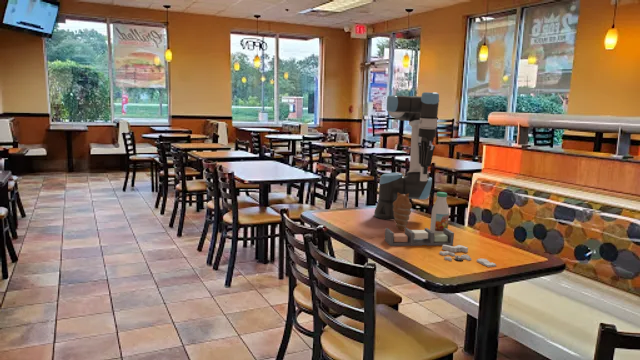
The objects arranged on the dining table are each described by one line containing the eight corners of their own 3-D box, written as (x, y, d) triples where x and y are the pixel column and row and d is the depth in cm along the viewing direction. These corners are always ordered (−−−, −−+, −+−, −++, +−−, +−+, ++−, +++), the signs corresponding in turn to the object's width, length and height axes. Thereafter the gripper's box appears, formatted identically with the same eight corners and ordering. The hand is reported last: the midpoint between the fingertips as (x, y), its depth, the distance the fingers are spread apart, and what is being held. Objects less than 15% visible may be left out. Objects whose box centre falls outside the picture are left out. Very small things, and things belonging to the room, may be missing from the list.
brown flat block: (390, 238, 202) (390, 233, 202) (403, 238, 203) (403, 233, 203) (393, 241, 198) (394, 236, 197) (407, 241, 198) (407, 236, 198)
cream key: (410, 235, 204) (410, 230, 203) (423, 235, 205) (423, 230, 204) (414, 238, 199) (414, 233, 198) (427, 238, 200) (428, 233, 199)
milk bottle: (427, 235, 214) (431, 192, 211) (432, 232, 221) (435, 190, 217) (444, 238, 210) (448, 195, 207) (448, 234, 217) (452, 192, 214)
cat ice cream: (390, 230, 220) (392, 193, 217) (393, 226, 227) (395, 190, 224) (409, 233, 217) (411, 195, 214) (411, 229, 224) (414, 192, 221)
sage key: (429, 238, 205) (430, 233, 205) (442, 238, 206) (443, 233, 206) (434, 241, 200) (434, 236, 200) (447, 241, 201) (447, 236, 201)
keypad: (384, 240, 204) (385, 228, 203) (445, 239, 208) (446, 227, 207) (390, 245, 196) (391, 233, 195) (453, 245, 200) (454, 232, 200)
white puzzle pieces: (451, 271, 169) (451, 265, 169) (417, 251, 191) (417, 246, 191) (496, 267, 176) (497, 261, 176) (459, 248, 198) (459, 243, 198)
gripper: (413, 126, 210) (410, 178, 215) (425, 129, 198) (421, 183, 202) (429, 126, 212) (425, 178, 216) (442, 129, 199) (437, 183, 204)
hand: (423, 180), depth 209 cm, fingers closed
